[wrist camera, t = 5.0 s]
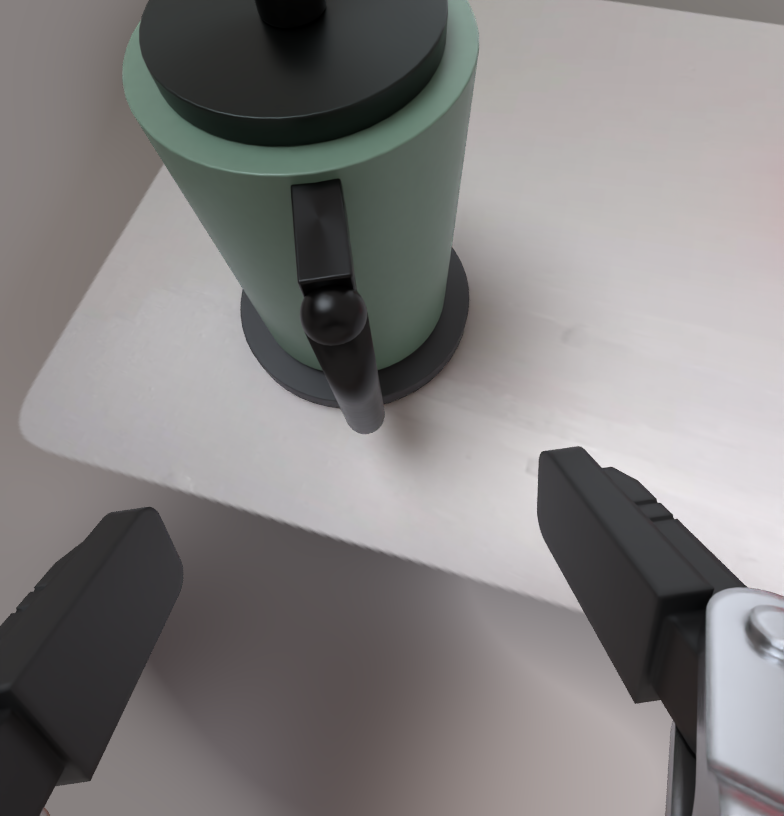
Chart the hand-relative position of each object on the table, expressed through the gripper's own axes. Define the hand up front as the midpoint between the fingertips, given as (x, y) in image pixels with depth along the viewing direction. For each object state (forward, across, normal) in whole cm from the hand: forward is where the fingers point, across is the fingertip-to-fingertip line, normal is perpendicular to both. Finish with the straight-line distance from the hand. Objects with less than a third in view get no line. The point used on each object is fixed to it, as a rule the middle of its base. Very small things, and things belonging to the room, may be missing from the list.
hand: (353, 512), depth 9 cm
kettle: (+19, 0, -1) cm, 19 cm away
